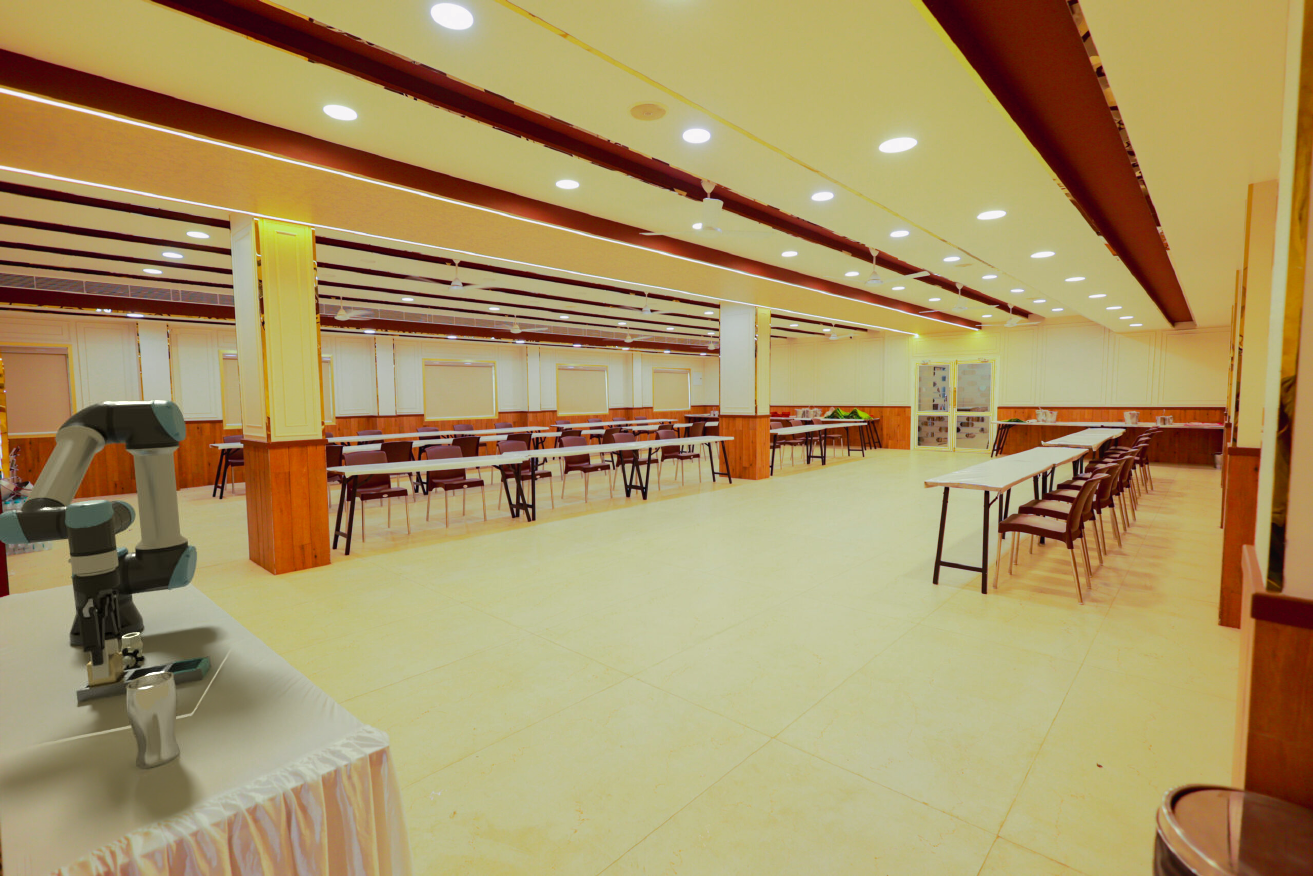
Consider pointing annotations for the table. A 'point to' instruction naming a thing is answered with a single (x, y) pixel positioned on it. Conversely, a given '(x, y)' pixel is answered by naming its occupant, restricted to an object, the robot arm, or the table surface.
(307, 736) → the table surface
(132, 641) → the valve
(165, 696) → the beer glass
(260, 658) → the table surface
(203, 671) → the divided tray
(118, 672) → the hollow square tube
